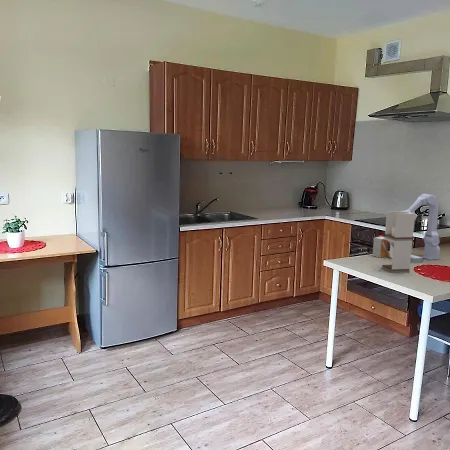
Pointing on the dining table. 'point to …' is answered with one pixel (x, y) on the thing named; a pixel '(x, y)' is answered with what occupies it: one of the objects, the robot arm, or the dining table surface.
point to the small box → (380, 247)
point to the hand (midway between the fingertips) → (394, 256)
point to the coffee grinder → (399, 240)
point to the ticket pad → (416, 259)
